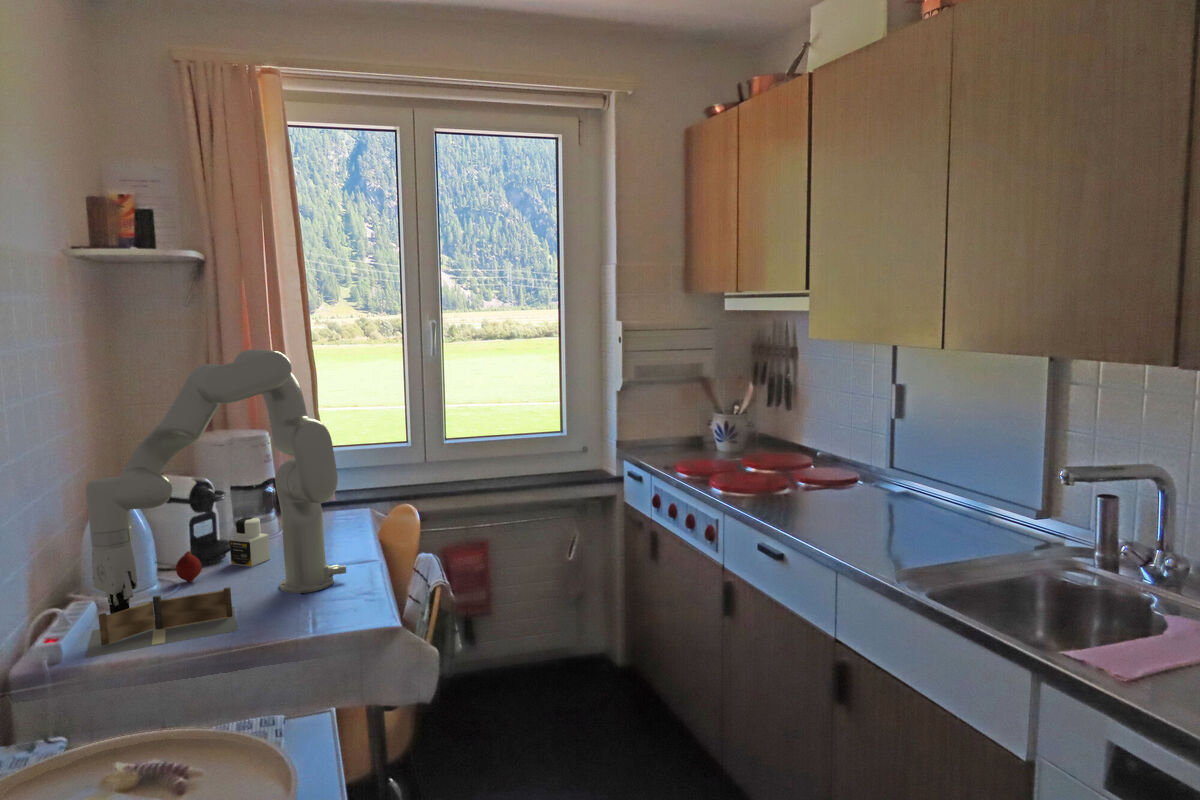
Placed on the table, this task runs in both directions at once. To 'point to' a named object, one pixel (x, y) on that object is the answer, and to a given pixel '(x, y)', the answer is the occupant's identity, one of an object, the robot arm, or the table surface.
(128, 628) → the fence gate
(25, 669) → the table surface
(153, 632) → the card
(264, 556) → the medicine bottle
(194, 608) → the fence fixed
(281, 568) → the table surface
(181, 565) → the onion
